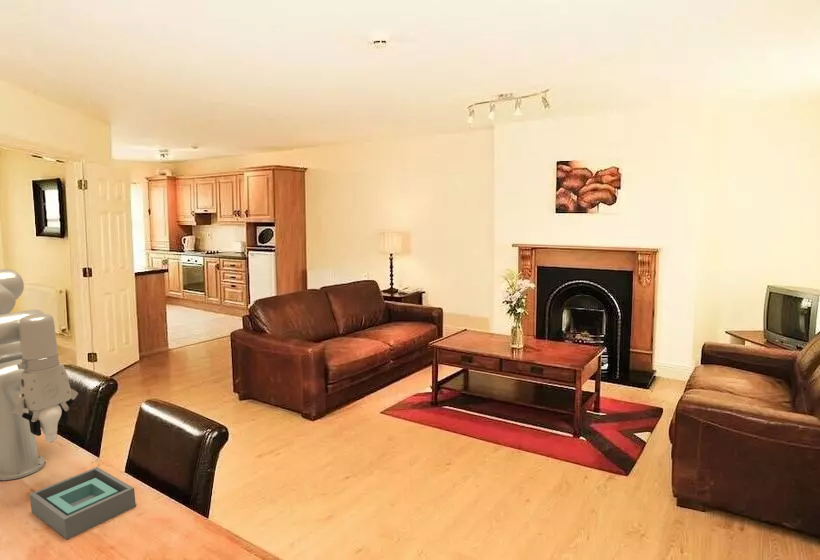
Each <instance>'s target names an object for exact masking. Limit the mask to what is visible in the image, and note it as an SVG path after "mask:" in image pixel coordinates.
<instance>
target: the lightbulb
mask: <svg viewBox="0 0 820 560" xmlns="http://www.w3.org/2000/svg"><path fill="white" fill-rule="evenodd" d="M61 414H62V409H61V407H60V406H59V405H55V406H52V407H49V408H45V409H42V410H39V413H38V417H37V420H39V421H40V426H41V432H42V434H43V436H44V439H45V441H46V442H48V443H54V442H55V441H56V440H57V439H58V425H59V424H58V421H59V419H60V417H61Z"/></svg>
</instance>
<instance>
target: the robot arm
mask: <svg viewBox="0 0 820 560" xmlns="http://www.w3.org/2000/svg"><path fill="white" fill-rule="evenodd" d="M24 289H25V284H24V281H23V277H22V276H21V275H20V273H18V272H17V271H16V270H13V269H9V268H4V269H0V481H10V480H16V479H20V478H23V477H27V476H30V475H32V474H34V473H36V472H38V471H40V470H41V469H42V468H44V466H45V465H46V458H45V457H44V456H41V455H39V454H38V452H39V451H38V447H37V446H38V445H37V439H36V436H37V437H39V436H41V435H42V428H41V426H40V421H39V420H37V417H38V413H39V410H42V409H45V408H49V407H52V406H55V405H59V406H60V407H61V409H62V414H61V417H60V419H59V421H58V425H59V426H62V427H67V426H68V421H69V417H68V416H69V415H68V411H69V410H70V406H71V405H72V403H73V402H74V400H75V399H76V398H77V396H79V392H78V391H77V390H74V388H71V384H70V382H69V376H68V374H67V371H66V368H65V366H64V363H61V362H60V358H59V351H58V343H57V335H56V326H55V321H54V317H53V316H52V314H49V313H45V312H44V311H42V310H39V309H27V310H22V311H21V310H20V311H16V312H15V311H14V312H13V310H14V308H15V306H16V300H18V299H19V298H20V296H21V295H22V294H23V292H24Z"/></svg>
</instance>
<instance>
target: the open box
mask: <svg viewBox="0 0 820 560" xmlns="http://www.w3.org/2000/svg"><path fill="white" fill-rule="evenodd" d="M28 495H29V503H30V509H31V513H32V514H33V515H34V516H36V517H37V518H38V519H39V520H41V521H42V522H43V523H45V524H46V525H47V526H49V527H50V528H51V529H53V531H55V532H56V533H58V534H59V535H60V536H61V537H62V538H64V540H70V539H72V538H73V537H75V536H77V535H80V534H81V533H84V532H86V531H89V530H90V529H92V528H94V527H97V526H98V525H100V524H103V523H105V522H106V521H108V520H111V519H113V518H114V517H117V516H119V515H121V514H123V513H125V512H128V511H129V510H131V509H133V508H136V507H137V502H136V495H135V487H133V486H131V485H129V484H128V483H126V482H124V481H123V480H121V479H119V478H118V477H115V476H114V475H112V474H110V473H108V472H107V471H105V470H103V469H102V468H100V467H98V466H96V467H93V468H90V469H88V470H86V471H83V472H80V473H78V474H75V475H73V476H71V477H68V478H65V479H63V480H60V481H59V482H55V483H53V484H50V485H48V486H46V487H43V488H40V489H38V490H35V491H33V492H31V493H29V494H28Z"/></svg>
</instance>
